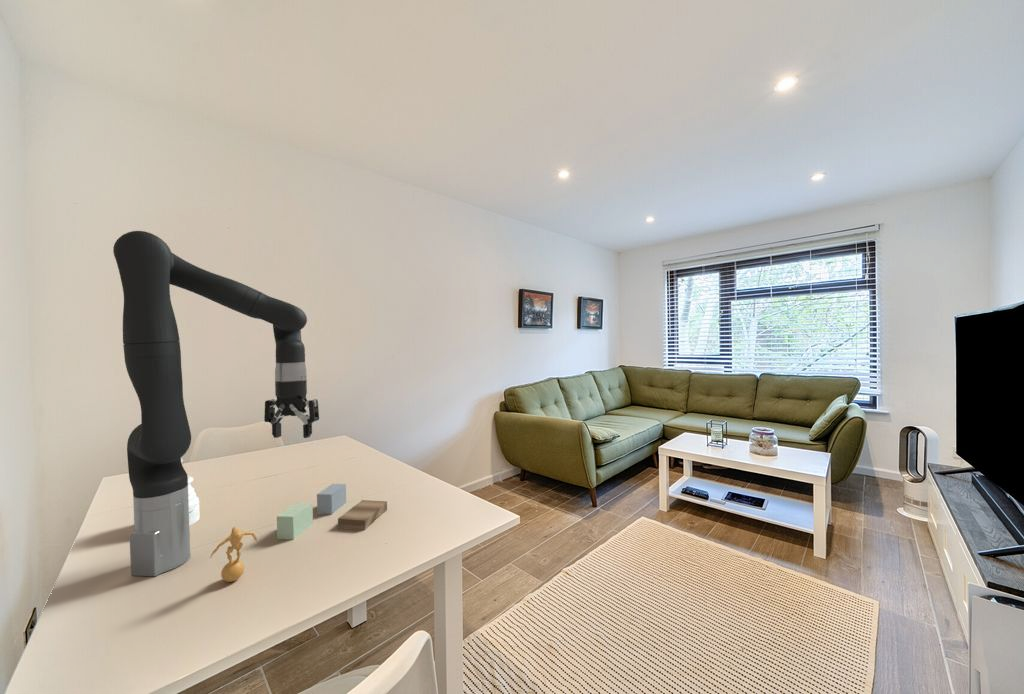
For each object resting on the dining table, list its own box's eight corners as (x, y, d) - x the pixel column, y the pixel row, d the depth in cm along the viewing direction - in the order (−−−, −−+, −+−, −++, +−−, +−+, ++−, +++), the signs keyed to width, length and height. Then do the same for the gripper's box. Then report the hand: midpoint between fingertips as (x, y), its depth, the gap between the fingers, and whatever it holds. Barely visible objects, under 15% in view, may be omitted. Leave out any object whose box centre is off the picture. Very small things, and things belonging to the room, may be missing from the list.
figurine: (251, 567, 85) (250, 514, 85) (262, 576, 81) (261, 521, 81) (206, 586, 78) (204, 530, 78) (215, 598, 75) (213, 538, 75)
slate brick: (331, 514, 110) (331, 494, 110) (317, 514, 111) (316, 494, 111) (346, 502, 118) (345, 484, 118) (332, 502, 119) (332, 483, 119)
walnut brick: (365, 531, 101) (364, 520, 101) (338, 529, 102) (337, 518, 102) (387, 511, 113) (386, 501, 113) (362, 509, 114) (362, 500, 114)
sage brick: (293, 539, 97) (293, 516, 97) (277, 539, 97) (276, 516, 97) (312, 524, 105) (312, 503, 105) (297, 524, 105) (297, 502, 105)
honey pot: (208, 510, 114) (206, 452, 114) (186, 531, 102) (184, 465, 102) (155, 517, 110) (153, 457, 110) (126, 539, 98) (123, 471, 98)
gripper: (256, 380, 101) (257, 440, 101) (307, 380, 100) (308, 441, 100) (275, 377, 108) (277, 433, 108) (323, 377, 107) (324, 434, 107)
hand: (292, 437), depth 104 cm, fingers open, 8 cm apart
